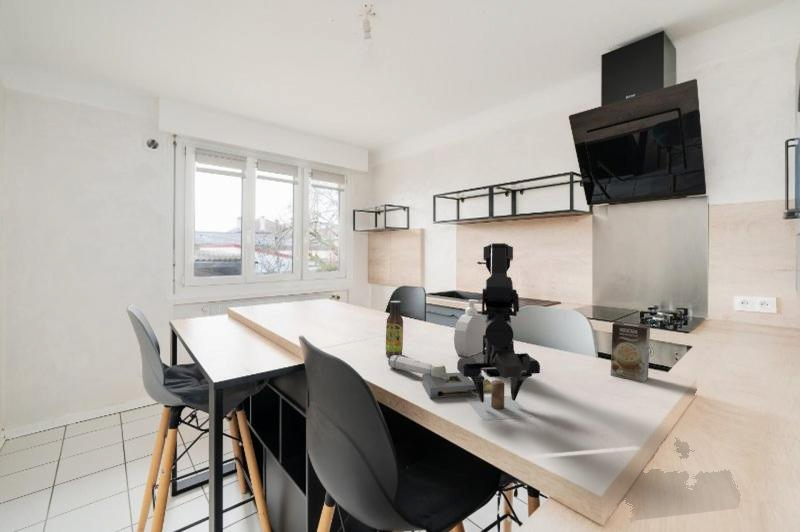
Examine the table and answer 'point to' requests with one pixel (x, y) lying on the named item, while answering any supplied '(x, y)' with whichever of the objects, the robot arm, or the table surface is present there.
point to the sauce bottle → (394, 330)
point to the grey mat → (488, 413)
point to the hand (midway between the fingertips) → (497, 400)
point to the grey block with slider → (451, 386)
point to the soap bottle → (469, 332)
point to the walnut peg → (497, 395)
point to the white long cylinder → (418, 367)
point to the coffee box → (630, 350)
